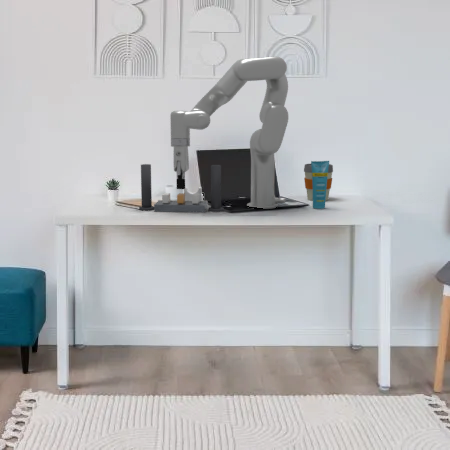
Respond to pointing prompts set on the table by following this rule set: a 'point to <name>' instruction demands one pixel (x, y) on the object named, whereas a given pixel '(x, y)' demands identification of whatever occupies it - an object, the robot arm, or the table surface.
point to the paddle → (196, 198)
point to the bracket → (189, 195)
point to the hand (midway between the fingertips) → (180, 188)
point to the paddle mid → (181, 198)
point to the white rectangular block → (166, 198)
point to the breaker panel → (180, 206)
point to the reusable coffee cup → (309, 181)
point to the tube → (319, 183)
